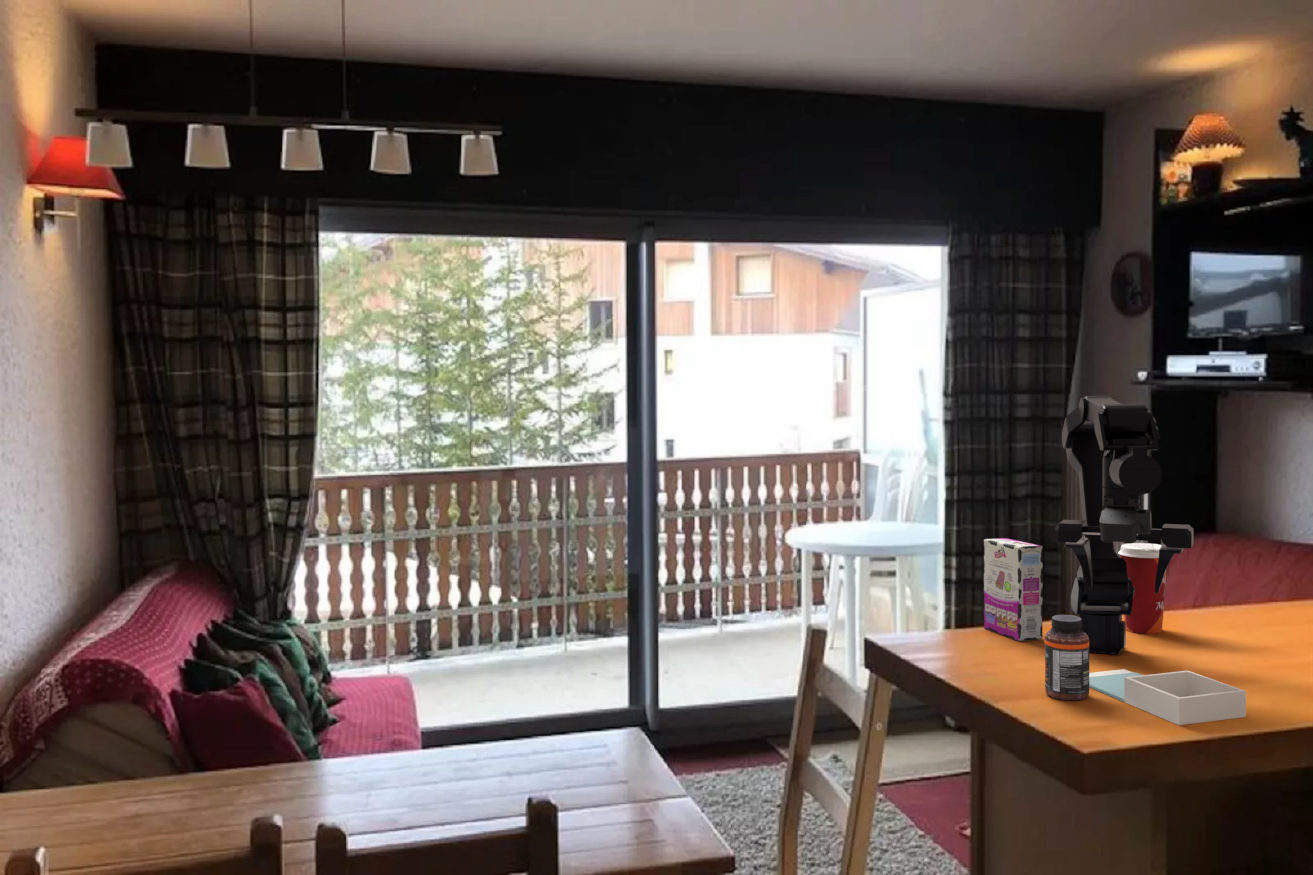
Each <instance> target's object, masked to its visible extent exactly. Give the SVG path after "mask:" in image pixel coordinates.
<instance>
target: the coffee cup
mask: <svg viewBox="0 0 1313 875" xmlns="http://www.w3.org/2000/svg"><path fill="white" fill-rule="evenodd" d="M1161 546H1162V544H1158V543H1148V542H1147V543H1146V542H1134V543H1131V544H1126V543H1123V544H1121V546H1120V550H1119V551H1118V552H1117V555H1118V554H1119V555H1120V556H1119V557H1120V558H1124V560H1125V561H1126V565H1127V574H1128V578H1130V579H1131V581H1132V585H1133V586H1134V587H1135V593H1134V597H1133V603H1132V613H1131V615H1123V621H1125V622H1126V632H1130V633H1134V634H1139V635H1154V634H1156V635H1157V634H1160V633H1162V631H1163V626H1164V625H1163V621H1164V611H1165V610H1164V609H1165V595H1166V593H1165V592H1166V581H1167V580H1166V579H1167V571H1166V572H1165V575H1164V578H1163V580H1162V583H1161V586H1160V589H1159V592H1158V593H1155V580H1156V573H1157V566H1158V559H1159V549H1160V548H1161Z"/></svg>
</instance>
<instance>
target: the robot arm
mask: <svg viewBox="0 0 1313 875" xmlns="http://www.w3.org/2000/svg"><path fill="white" fill-rule="evenodd" d="M1061 443H1062V444H1061V445H1062V448H1063V449H1065V451H1066V459H1067V462H1068V464H1070V465H1071V467H1072V468H1073V469H1074V471H1075V472H1076V473H1077V474H1078V483H1079V495H1080V505H1081V516H1082V520H1081V519H1080V520H1079V519H1062V521H1060V522H1059V523H1058V524H1056V526H1055V528H1054V541H1055V542H1056V543H1057V542H1058V543H1064V547H1065V548H1067V549H1071V550H1072V552H1073V553H1074V555H1075V557H1076V558H1077V561H1078V562H1079V564H1080V565H1079V567H1078V569H1077V571H1076V577H1075V579H1074V581H1073V585H1072V586H1073V587H1072V589H1071V594H1070V604H1071V605H1070V606H1071V610H1072V611H1073V612H1074V613H1075V614H1076V615H1078V617H1080V618H1081V619H1082V628H1081V631H1082V632H1084V633H1086V634H1087V635H1088V637H1089V653H1099V654H1108V655H1121V652H1122V650H1124V649H1125V647H1126V643H1127V640H1126V637H1127V634H1126V632H1127V630H1126V622H1125V621H1124V620H1123V618H1122V617H1123V616H1124V615H1131V613H1132V603H1133V597H1134V593H1135V587H1134V586H1133V585H1132V581H1131V579H1130V578H1128V574H1127V565H1126V561H1125V560H1124V558H1120V556H1119V555H1118V553H1117V552H1116V551H1115V547H1114V546H1115V544H1114V542H1116V543H1123V544H1131V543H1137V541H1143V542H1146V541H1147V542H1161V543H1160V545H1162V546H1161V548H1160V549H1159V559H1158V566H1157V573H1156V580H1155V593H1158V592H1159V589H1160V586H1161V583H1162V580H1163V578H1164V575H1165V572H1166V573H1167V569H1168V566H1169V564H1170V562H1171V560H1172V558H1173V556H1174V555H1176V554H1177V555H1179V554H1182V553H1183V551H1184V549H1192V547H1193V545H1194V528H1193V527H1192V526H1191V525H1190V524H1178V523H1176V524H1174V523H1164V524H1163V525H1162V528H1153V522H1152V521H1153V520H1152V517H1153V516H1152V509H1145V495H1147V494H1149V493H1152V492H1153V491H1155V490H1156V489H1157V488H1158V487H1159V485H1161V484H1160V483H1161V482H1162V477H1163V470H1162V468H1161V466H1160V463H1158V460H1156V459H1155V458H1154V457H1152V456H1150V455H1148V451H1158V450H1159V445H1160V443H1161V435H1160V431H1159V428H1158V424H1157V421H1156V418H1155V417H1154V414H1153V412H1152V411H1151V410H1149V408H1148V405H1146V404H1145V403H1121V402H1119V401H1117V400H1115V399H1114V396H1109V395H1085V396H1084V397H1080V399H1079V403H1078V406H1077V407H1076V408H1075V409H1073V410H1072V411H1071V412H1070V413H1069V414H1068V415H1066V416H1065V419H1064V423H1063V427H1062V432H1061Z"/></svg>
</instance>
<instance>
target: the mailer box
mask: <svg viewBox="0 0 1313 875" xmlns="http://www.w3.org/2000/svg"><path fill="white" fill-rule="evenodd" d="M1089 689H1091V690H1092V689H1093V690H1095V691H1097V692H1100V693H1102V694H1104V695H1107V696H1109V697H1112V698H1114V699H1116V700H1118V701H1121V702H1123V703H1125V704H1128V705H1131V706H1132V707H1135V708H1138V709H1140V710H1142V711H1144V712H1147V713H1149V714H1151V715H1154V716H1157V717H1159V718H1161V719H1162V720H1165V721H1167V722H1171V723H1172V724H1175V725H1178V726H1183V725H1184V726H1185V725H1191V724H1200V723H1208V722H1214V721H1216V722H1217V721H1223V720H1232V719H1233V720H1234V719H1239V718H1246V717H1247V716H1246V714H1247V713H1246V708H1247V707H1246V705H1247V698H1246V697H1247V691H1246V690H1245V689H1242V688H1239V687H1236V686H1233V685H1230V684H1227V683H1225V682H1221V681H1218V680H1217V679H1213V678H1211V677H1207V676H1205V675H1201V674H1198V673H1197V672H1193V671H1190V670H1179V671H1170V672H1169V671H1168V672H1161V673H1154V674H1142V673H1139V672H1136V671H1135V672H1133V671H1130V670H1127V669H1125V668H1122V669H1115V670H1114V669H1113V670H1105V671H1096V672H1095V671H1094V672H1089Z"/></svg>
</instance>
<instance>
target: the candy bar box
mask: <svg viewBox="0 0 1313 875" xmlns="http://www.w3.org/2000/svg"><path fill="white" fill-rule="evenodd" d="M1043 549H1044V548H1043V545H1039V544H1035V543H1030V542H1027V541H1026V542H1025V541H1021V540H1016V539H1011V538H1007V537H1005V538H1003V537H1002V538H1000V537H999V538H997V537H996V538H985V539H983V628H984V629H985V630H987V631H991V632H993V633H996V634H998V635H1001V636H1004V637H1007V638H1010V639H1012V640H1015V641H1017V642H1028V641H1032V642H1033V641H1040V640H1043V636H1044V635H1043V600H1044V598H1043V584H1044V583H1043V577H1044V576H1043V574H1044V573H1043V572H1044V570H1043V568H1044V566H1043V559H1044V558H1043V556H1044V555H1043V554H1044V553H1043V551H1044V550H1043Z"/></svg>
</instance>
